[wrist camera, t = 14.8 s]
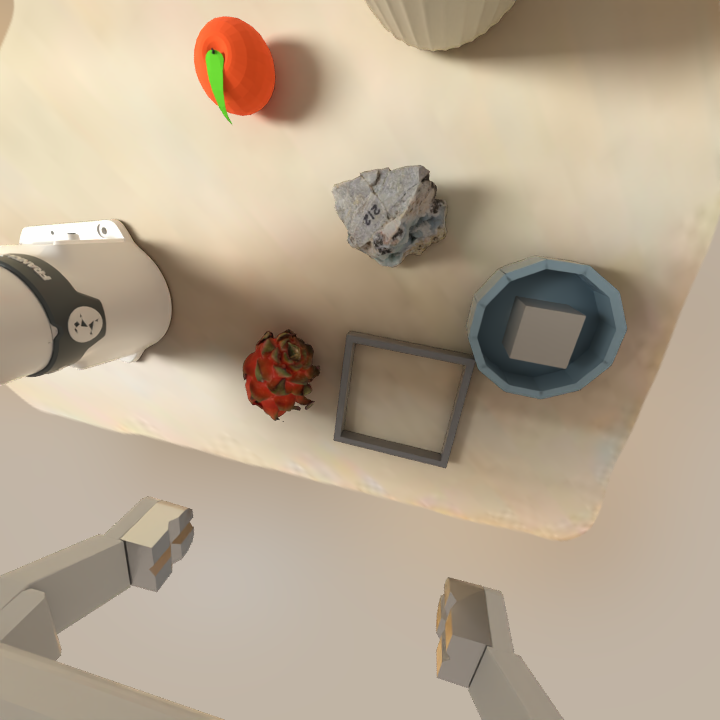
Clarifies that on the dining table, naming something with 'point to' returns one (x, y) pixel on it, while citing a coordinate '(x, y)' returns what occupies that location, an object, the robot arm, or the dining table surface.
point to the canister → (438, 20)
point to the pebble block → (542, 332)
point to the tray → (394, 447)
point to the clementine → (234, 66)
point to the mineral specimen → (391, 213)
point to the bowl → (553, 285)
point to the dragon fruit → (280, 373)
